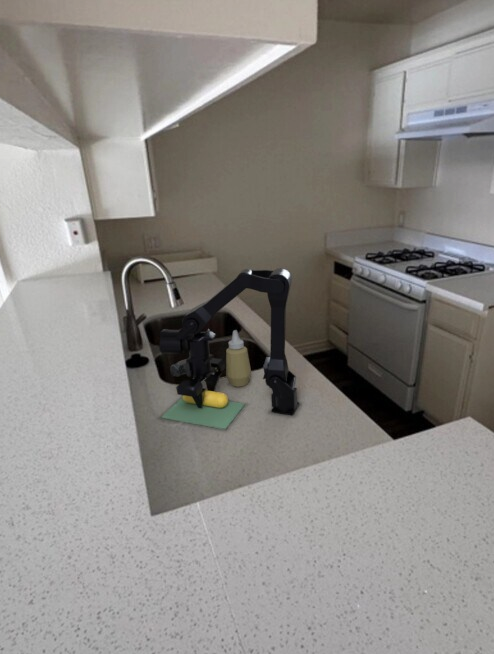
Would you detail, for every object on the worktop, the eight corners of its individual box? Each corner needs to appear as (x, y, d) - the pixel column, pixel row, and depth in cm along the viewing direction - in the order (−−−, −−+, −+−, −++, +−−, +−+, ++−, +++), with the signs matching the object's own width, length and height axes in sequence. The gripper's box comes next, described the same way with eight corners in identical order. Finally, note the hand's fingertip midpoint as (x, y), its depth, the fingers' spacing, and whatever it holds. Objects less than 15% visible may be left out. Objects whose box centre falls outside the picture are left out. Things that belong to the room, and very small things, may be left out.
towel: (245, 404, 122) (244, 403, 122) (225, 429, 111) (225, 428, 111) (185, 395, 129) (185, 394, 129) (161, 417, 118) (161, 416, 117)
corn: (231, 404, 122) (230, 391, 120) (224, 412, 118) (223, 398, 117) (188, 397, 127) (186, 384, 125) (180, 404, 123) (178, 391, 121)
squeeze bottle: (253, 377, 138) (250, 326, 130) (250, 389, 131) (246, 336, 123) (229, 376, 139) (224, 326, 131) (224, 388, 131) (219, 336, 124)
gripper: (191, 338, 126) (197, 383, 133) (155, 364, 110) (164, 414, 117) (224, 341, 123) (228, 388, 129) (192, 369, 107) (199, 420, 113)
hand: (205, 401), depth 122 cm, fingers open, 6 cm apart
